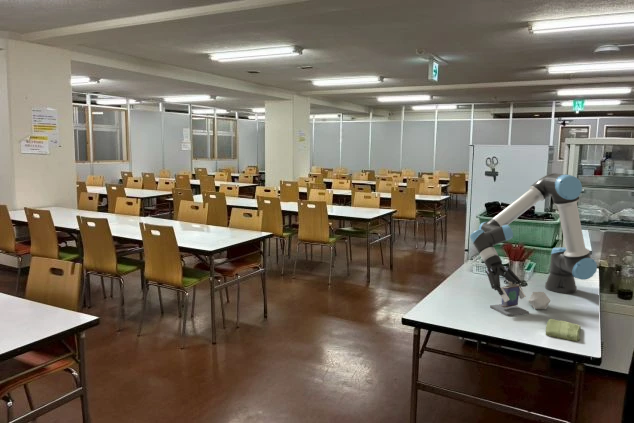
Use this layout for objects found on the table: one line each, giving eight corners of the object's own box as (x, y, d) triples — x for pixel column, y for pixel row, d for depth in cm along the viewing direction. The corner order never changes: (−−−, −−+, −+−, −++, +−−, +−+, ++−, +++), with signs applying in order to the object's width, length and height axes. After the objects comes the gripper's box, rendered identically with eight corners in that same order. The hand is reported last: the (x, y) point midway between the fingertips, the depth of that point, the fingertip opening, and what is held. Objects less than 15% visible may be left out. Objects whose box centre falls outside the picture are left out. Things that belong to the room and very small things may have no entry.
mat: (511, 305, 226) (511, 303, 226) (528, 313, 215) (528, 311, 215) (490, 307, 223) (490, 305, 223) (506, 316, 211) (507, 314, 211)
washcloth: (581, 329, 198) (581, 321, 198) (579, 343, 183) (580, 336, 183) (547, 322, 205) (547, 315, 204) (542, 336, 190) (543, 329, 189)
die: (547, 314, 216) (556, 296, 218) (530, 304, 217) (539, 286, 219) (538, 314, 224) (547, 297, 226) (522, 304, 225) (531, 287, 227)
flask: (504, 308, 215) (506, 283, 213) (499, 306, 218) (500, 282, 216) (519, 305, 219) (521, 281, 218) (514, 303, 222) (515, 279, 220)
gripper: (502, 260, 235) (527, 299, 223) (469, 265, 225) (492, 306, 213) (512, 252, 229) (537, 292, 217) (478, 256, 219) (502, 298, 207)
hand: (515, 299), depth 215 cm, fingers closed on flask, 10 cm apart
